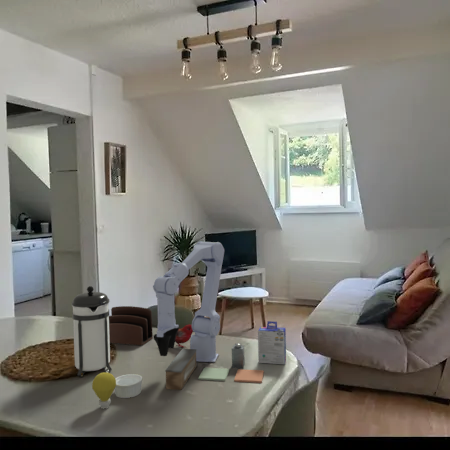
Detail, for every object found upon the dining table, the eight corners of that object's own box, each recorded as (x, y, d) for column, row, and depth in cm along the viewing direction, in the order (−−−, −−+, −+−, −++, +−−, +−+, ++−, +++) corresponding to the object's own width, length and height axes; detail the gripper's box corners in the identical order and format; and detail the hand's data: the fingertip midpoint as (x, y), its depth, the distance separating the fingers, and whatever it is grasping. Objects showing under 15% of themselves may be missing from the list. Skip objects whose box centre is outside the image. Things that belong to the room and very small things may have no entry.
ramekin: (117, 401, 128) (116, 387, 127) (110, 390, 136) (110, 377, 135) (146, 395, 132) (145, 381, 132) (138, 384, 140) (137, 371, 139)
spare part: (232, 367, 152) (231, 345, 152) (233, 363, 156) (233, 342, 156) (243, 368, 152) (242, 346, 151) (244, 364, 156) (244, 342, 155)
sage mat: (198, 379, 143) (198, 377, 143) (204, 369, 152) (204, 367, 151) (225, 380, 141) (225, 379, 141) (229, 370, 150) (229, 368, 150)
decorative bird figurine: (193, 350, 171) (192, 326, 170) (157, 344, 180) (157, 320, 179) (196, 348, 173) (196, 324, 173) (161, 342, 182) (161, 319, 182)
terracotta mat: (234, 381, 141) (234, 379, 141) (238, 370, 149) (238, 369, 149) (261, 382, 139) (261, 381, 139) (263, 372, 148) (263, 370, 148)
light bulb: (95, 402, 127) (94, 369, 127) (118, 401, 128) (117, 368, 127) (90, 413, 121) (89, 378, 120) (114, 411, 121) (113, 377, 121)
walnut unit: (165, 389, 136) (164, 370, 135) (182, 365, 156) (181, 348, 155) (182, 390, 135) (181, 371, 134) (197, 366, 155) (196, 349, 154)
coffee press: (124, 364, 158) (122, 283, 156) (94, 380, 143) (91, 291, 142) (88, 358, 165) (85, 280, 163) (56, 373, 150) (52, 288, 149)
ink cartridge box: (286, 359, 160) (286, 321, 159) (285, 365, 154) (285, 325, 154) (260, 358, 162) (259, 320, 161) (258, 363, 156) (257, 324, 155)
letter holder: (112, 335, 193) (112, 304, 193) (153, 338, 188) (152, 307, 187) (100, 342, 184) (99, 310, 183) (142, 346, 178) (141, 312, 178)
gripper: (171, 318, 137) (172, 359, 138) (183, 307, 151) (184, 345, 152) (150, 317, 138) (151, 358, 139) (164, 306, 153) (165, 344, 153)
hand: (167, 351), depth 146 cm, fingers open, 7 cm apart
